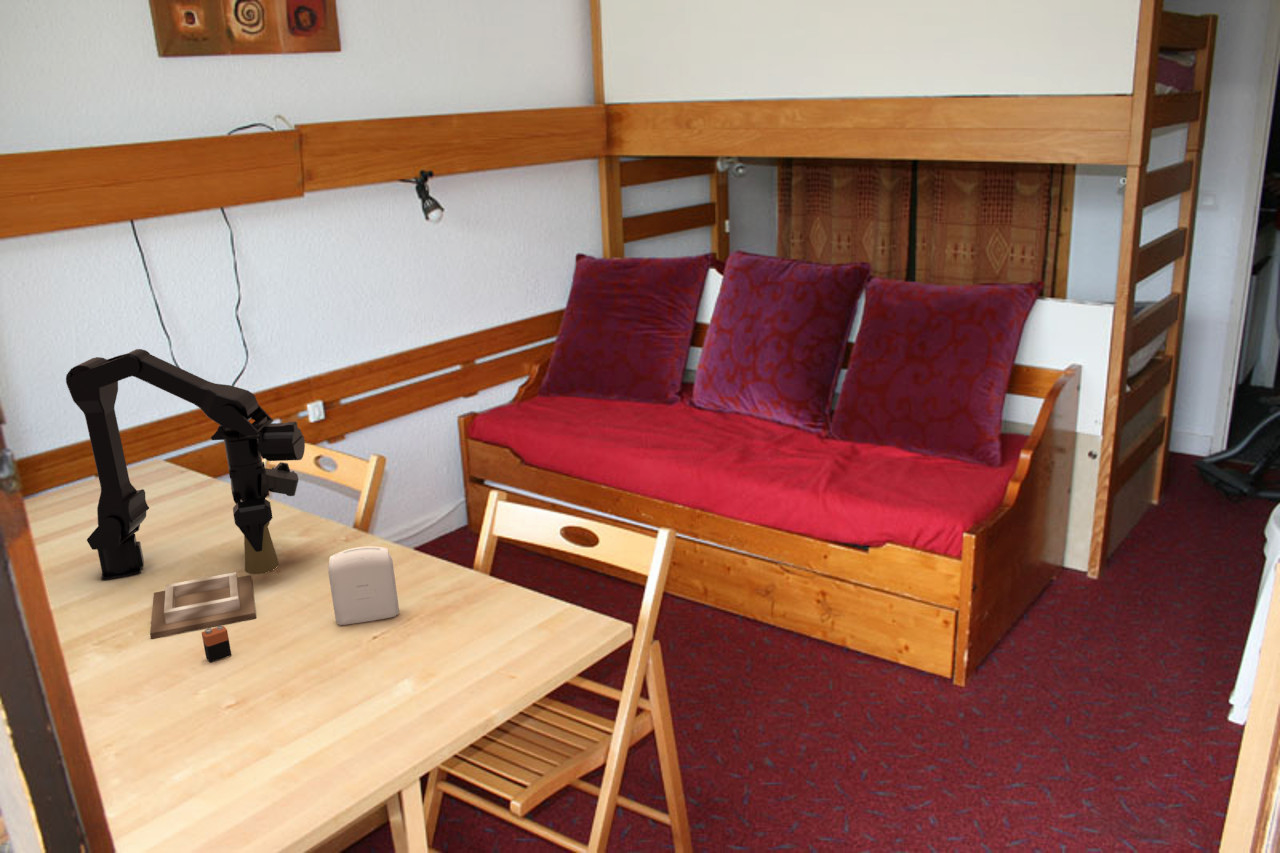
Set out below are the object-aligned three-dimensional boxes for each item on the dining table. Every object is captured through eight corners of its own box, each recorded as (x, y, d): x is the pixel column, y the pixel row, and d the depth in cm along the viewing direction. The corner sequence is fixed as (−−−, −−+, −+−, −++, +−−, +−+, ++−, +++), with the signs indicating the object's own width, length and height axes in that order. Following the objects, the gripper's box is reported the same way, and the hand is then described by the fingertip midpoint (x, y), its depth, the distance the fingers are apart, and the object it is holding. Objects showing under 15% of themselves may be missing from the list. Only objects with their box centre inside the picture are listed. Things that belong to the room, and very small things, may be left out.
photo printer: (335, 628, 170) (325, 558, 166) (335, 616, 174) (326, 547, 170) (399, 619, 172) (391, 549, 169) (399, 607, 176) (391, 539, 173)
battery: (205, 658, 162) (200, 629, 161) (227, 650, 164) (222, 621, 163) (210, 663, 161) (204, 634, 159) (232, 655, 163) (227, 626, 161)
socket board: (151, 638, 169) (147, 622, 168) (154, 597, 183) (151, 582, 182) (256, 618, 175) (253, 601, 174) (251, 579, 189) (249, 564, 188)
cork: (284, 560, 196) (276, 505, 193) (270, 574, 191) (261, 518, 187) (253, 559, 197) (244, 505, 194) (238, 574, 191) (229, 517, 188)
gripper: (296, 469, 182) (308, 552, 187) (288, 439, 199) (299, 516, 203) (227, 480, 178) (241, 564, 183) (225, 448, 195) (238, 526, 200)
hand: (257, 541), depth 192 cm, fingers open, 9 cm apart
